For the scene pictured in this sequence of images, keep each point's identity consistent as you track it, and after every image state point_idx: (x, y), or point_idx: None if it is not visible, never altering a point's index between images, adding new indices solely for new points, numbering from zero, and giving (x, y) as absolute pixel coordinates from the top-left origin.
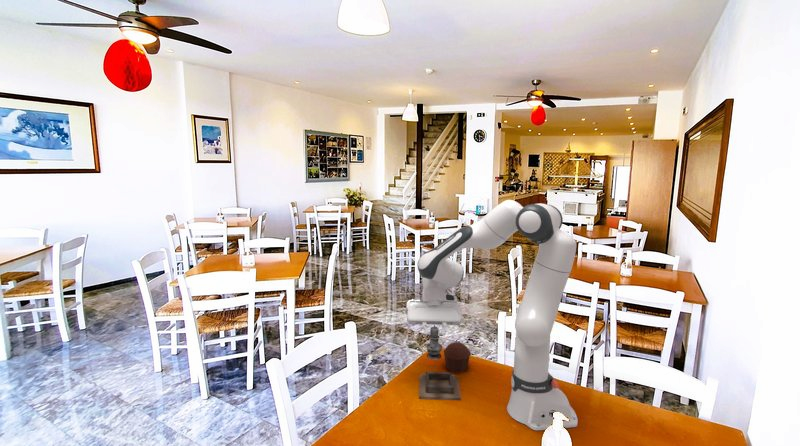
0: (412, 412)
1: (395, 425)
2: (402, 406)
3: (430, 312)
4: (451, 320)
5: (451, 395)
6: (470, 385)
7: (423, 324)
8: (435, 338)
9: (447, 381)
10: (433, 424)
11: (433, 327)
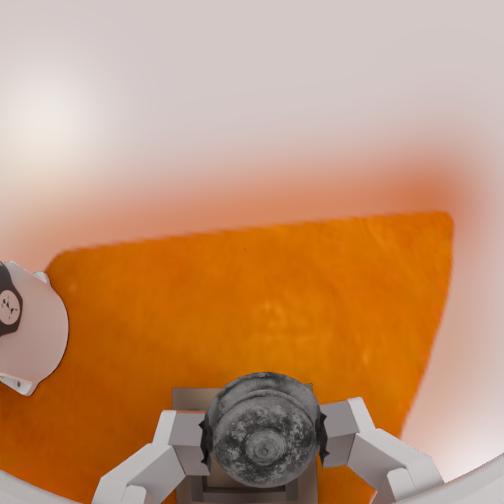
0: (323, 315)
1: (355, 258)
2: (355, 337)
3: None
4: (16, 485)
5: (202, 399)
6: None
7: (421, 464)
8: (253, 396)
9: (213, 478)
10: (260, 273)
11: (280, 437)
